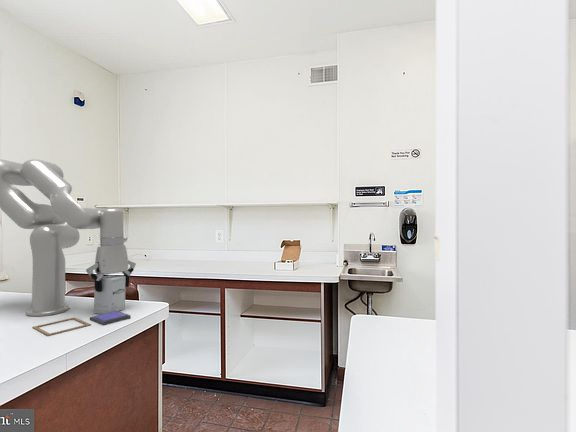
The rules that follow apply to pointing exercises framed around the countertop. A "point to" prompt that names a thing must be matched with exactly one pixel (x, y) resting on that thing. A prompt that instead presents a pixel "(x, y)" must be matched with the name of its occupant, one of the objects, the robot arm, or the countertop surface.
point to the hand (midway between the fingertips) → (112, 288)
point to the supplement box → (110, 295)
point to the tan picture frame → (62, 330)
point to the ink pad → (110, 317)
